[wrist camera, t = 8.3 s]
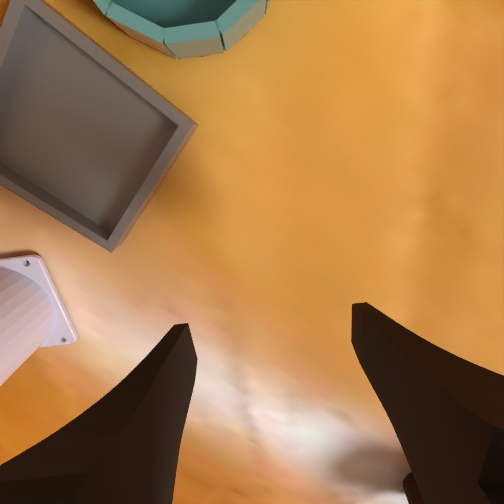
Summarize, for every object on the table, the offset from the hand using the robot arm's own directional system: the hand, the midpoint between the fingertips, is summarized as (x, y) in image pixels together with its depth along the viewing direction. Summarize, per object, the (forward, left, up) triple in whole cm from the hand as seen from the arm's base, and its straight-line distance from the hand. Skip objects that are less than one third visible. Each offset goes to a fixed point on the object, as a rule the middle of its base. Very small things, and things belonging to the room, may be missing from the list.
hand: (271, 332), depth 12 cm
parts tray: (-10, +9, -9) cm, 16 cm away
